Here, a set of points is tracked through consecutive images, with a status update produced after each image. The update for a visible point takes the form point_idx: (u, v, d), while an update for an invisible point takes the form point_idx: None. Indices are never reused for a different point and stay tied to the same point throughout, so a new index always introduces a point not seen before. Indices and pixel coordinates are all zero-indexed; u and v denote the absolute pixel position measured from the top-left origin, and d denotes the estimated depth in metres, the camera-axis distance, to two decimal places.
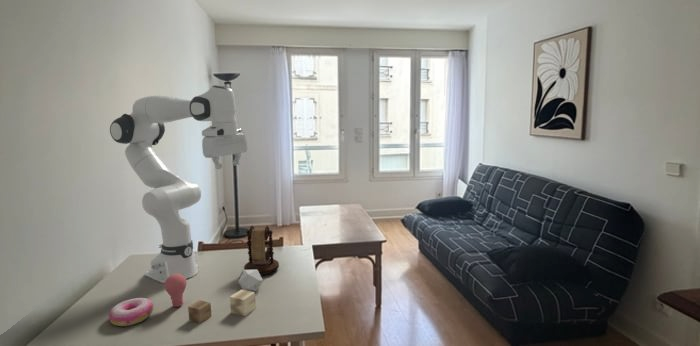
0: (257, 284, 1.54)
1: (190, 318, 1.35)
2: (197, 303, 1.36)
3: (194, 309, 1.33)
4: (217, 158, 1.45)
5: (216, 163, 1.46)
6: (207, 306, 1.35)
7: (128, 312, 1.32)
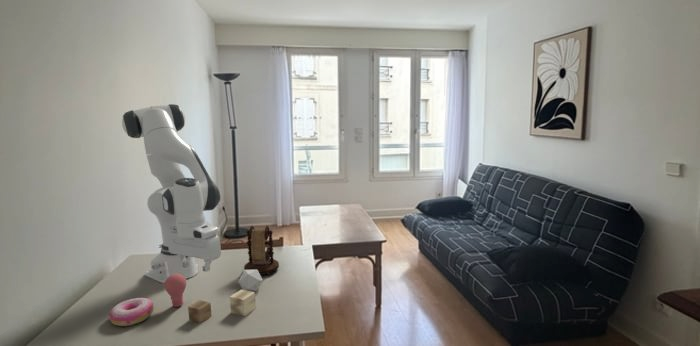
0: (257, 284, 1.54)
1: (190, 318, 1.35)
2: (197, 303, 1.36)
3: (194, 309, 1.33)
4: None
5: (208, 265, 1.30)
6: (207, 306, 1.35)
7: (128, 312, 1.32)
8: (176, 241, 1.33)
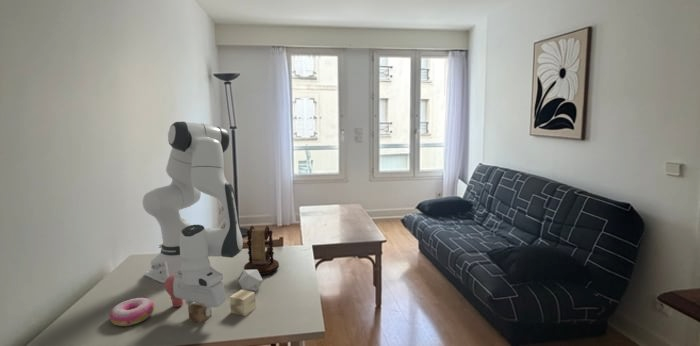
0: (257, 284, 1.54)
1: (190, 318, 1.35)
2: (197, 303, 1.36)
3: (194, 309, 1.33)
4: None
5: (209, 309, 1.34)
6: None
7: (129, 312, 1.32)
8: (181, 286, 1.35)
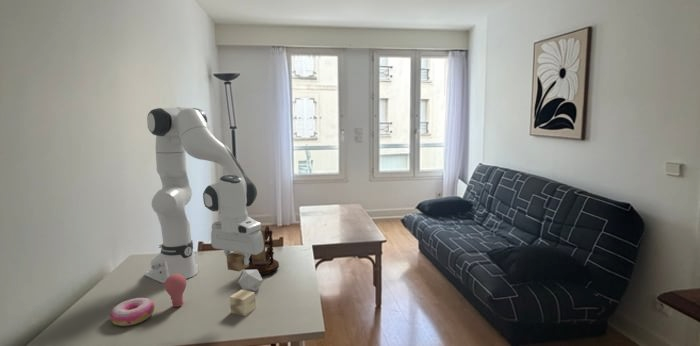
0: (257, 284, 1.54)
1: (228, 267, 1.36)
2: (235, 252, 1.38)
3: (233, 258, 1.35)
4: None
5: (247, 258, 1.35)
6: None
7: (129, 312, 1.32)
8: (219, 236, 1.37)
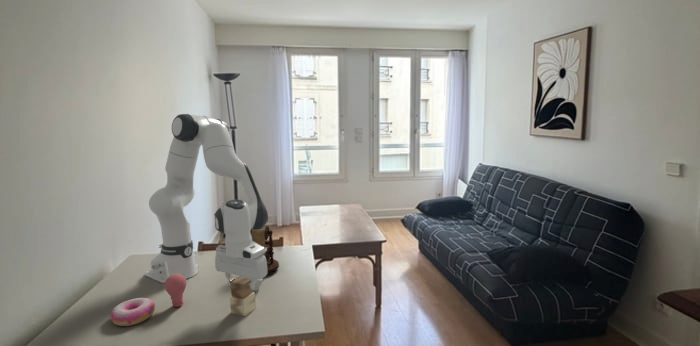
0: (257, 284, 1.54)
1: (232, 294, 1.38)
2: (239, 279, 1.40)
3: (237, 285, 1.37)
4: None
5: (254, 283, 1.37)
6: (249, 282, 1.39)
7: (130, 312, 1.32)
8: (223, 259, 1.39)
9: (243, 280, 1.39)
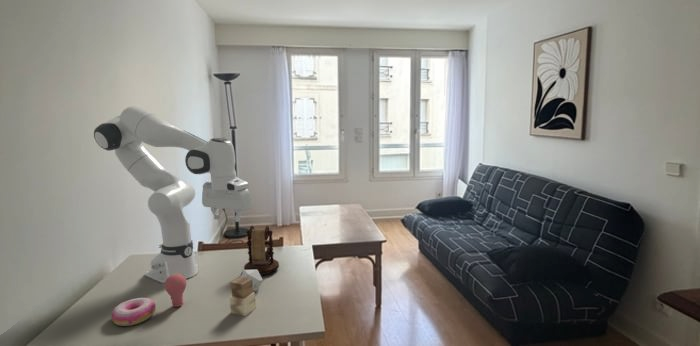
0: (257, 284, 1.54)
1: (233, 293, 1.39)
2: (239, 279, 1.40)
3: (237, 285, 1.37)
4: None
5: (239, 216, 1.46)
6: (249, 282, 1.39)
7: (130, 312, 1.32)
8: (210, 194, 1.48)
9: (243, 280, 1.39)
